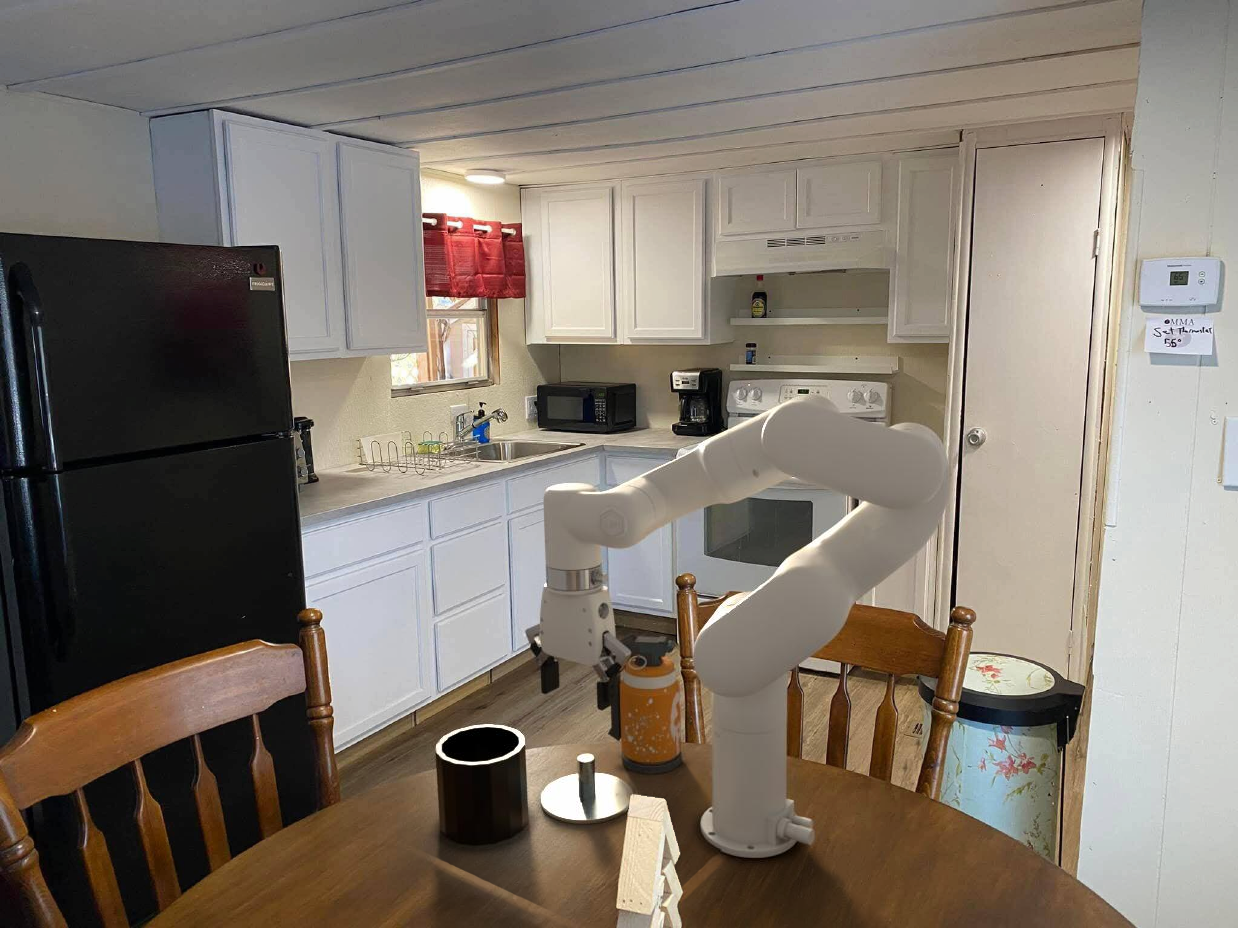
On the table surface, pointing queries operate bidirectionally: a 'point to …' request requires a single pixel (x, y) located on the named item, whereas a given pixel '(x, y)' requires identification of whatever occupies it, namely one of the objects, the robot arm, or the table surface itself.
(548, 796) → the lid
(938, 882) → the table surface
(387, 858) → the table surface
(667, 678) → the canister
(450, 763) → the dark pen holder
